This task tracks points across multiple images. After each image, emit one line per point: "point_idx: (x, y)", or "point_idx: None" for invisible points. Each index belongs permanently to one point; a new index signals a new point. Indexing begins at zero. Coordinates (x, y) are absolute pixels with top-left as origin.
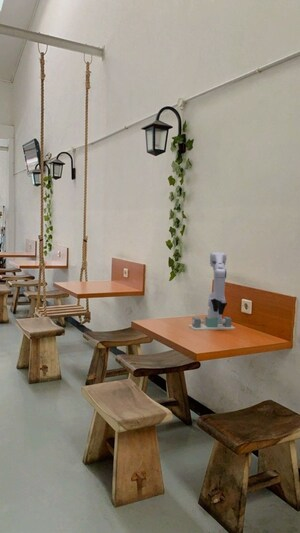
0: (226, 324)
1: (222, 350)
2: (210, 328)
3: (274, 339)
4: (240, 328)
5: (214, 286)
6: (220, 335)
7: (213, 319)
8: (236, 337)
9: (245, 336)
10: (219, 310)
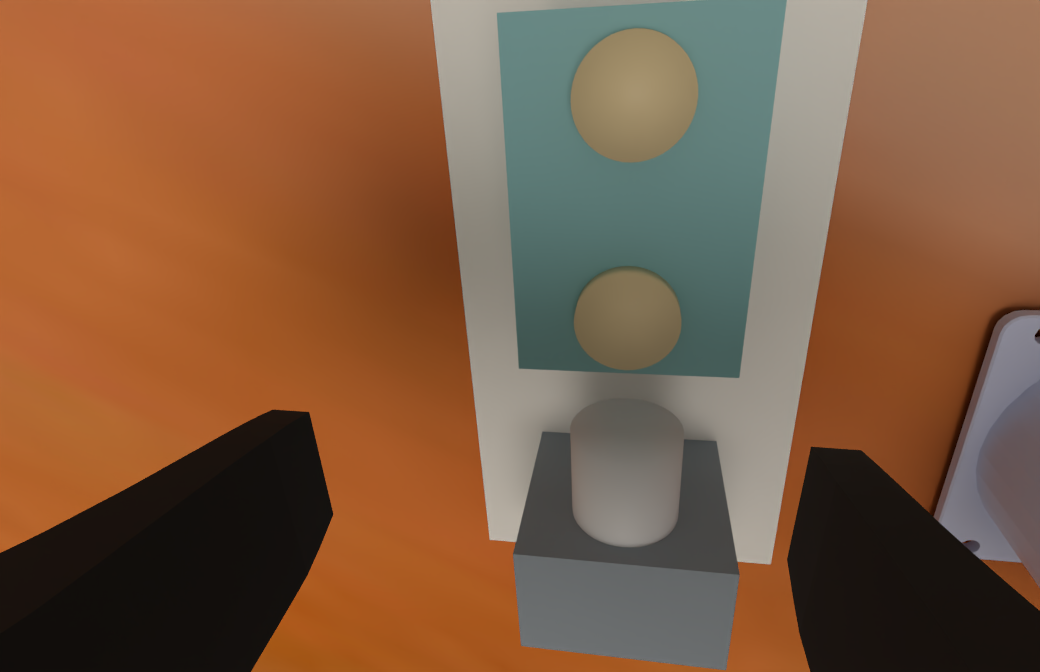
0: (535, 466)
1: None
2: (438, 47)
3: None
4: None
5: None
6: (62, 110)
7: (517, 214)
8: (29, 330)
9: (123, 469)
10: (122, 510)
